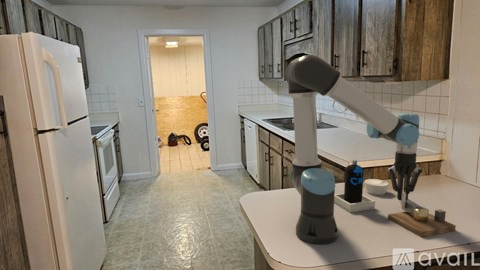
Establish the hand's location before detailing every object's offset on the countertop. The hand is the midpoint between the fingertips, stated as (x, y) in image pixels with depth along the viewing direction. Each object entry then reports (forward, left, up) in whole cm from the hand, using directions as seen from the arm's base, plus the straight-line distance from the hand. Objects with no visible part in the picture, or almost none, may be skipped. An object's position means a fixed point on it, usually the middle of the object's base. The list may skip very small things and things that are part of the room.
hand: (401, 207), depth 128 cm
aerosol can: (-12, +16, -3) cm, 20 cm away
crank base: (0, -9, -4) cm, 10 cm away
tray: (-12, +16, -4) cm, 20 cm away
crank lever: (+2, -4, -1) cm, 4 cm away
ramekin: (+10, +27, -4) cm, 29 cm away
